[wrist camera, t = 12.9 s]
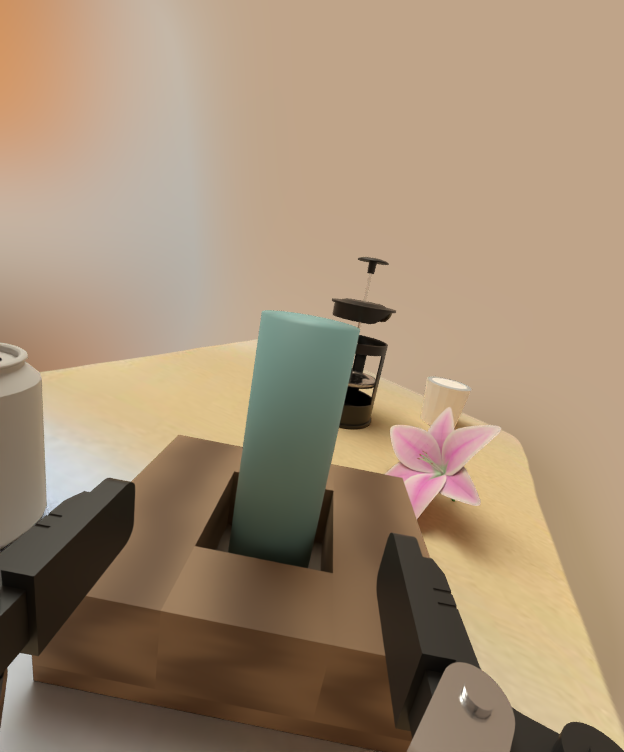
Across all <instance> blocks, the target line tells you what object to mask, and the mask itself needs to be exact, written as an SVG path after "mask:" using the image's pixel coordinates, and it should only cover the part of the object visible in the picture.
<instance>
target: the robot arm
mask: <svg viewBox="0 0 624 752" xmlns="http://www.w3.org/2000/svg"><path fill="white" fill-rule="evenodd" d="M134 511H135V484H134V483H133V482H129V481H123V480H118V479H113V478H107V479H105V480H104V481H102V482H101V483H100V484H99V485H98V486H97V487H95V488H94V489H93V490H92V491H91V492H86V491H84V492H82V493H79V494H77V495H75V496H73V497H71V498H69V499H67V500H65V501H63V502H62V503H61V504H60V505H58V506H57V507H56V508H55V509H54V510H52V511H51V512H50V513H49V515H48V516H45V517H44V518H43V519H41V520H40V521H39V522H38V523H36V526H35V527H34V526H33V527H32V528H30V529H29V530H28V531H27V532H25V533H24V534H23V535H22V536H21V537H19V538H18V539H17V540H16V541H14V542H13V543H12V544H11V545H10V546H8V547H7V548H6V549H5V550H3V551H2V552H1V553H0V727H1V720H2V712H3V705H4V697H5V690H6V682H7V672H8V671H7V667H8V666H9V665H10V664H11V663H12V661H13V660H14V659H15V658H16V657H17V655H18V654H19V653H24V654H29V655H34V656H39V655H40V654H41V652H42V651H43V650H44V649H45V647H46V646H47V645H48V644H49V642H50V641H51V640H52V638H53V637H54V636H55V635H56V633H57V632H58V631H59V630H60V628H61V627H62V626H63V624H64V623H65V622H66V621H67V619H68V618H69V617H70V616H71V614H72V613H73V612H74V610H75V609H76V608H77V607H78V605H79V604H80V603H81V602H82V600H83V599H84V598H85V596H86V595H87V594H88V593H89V591H90V590H91V589H92V587H93V586H94V585H95V584H96V582H97V581H98V580H99V579H100V577H101V576H102V575H103V573H104V572H105V571H106V570H107V568H108V567H109V566H110V565H111V563H112V562H113V561H114V559H115V558H116V557H117V556H118V554H119V553H120V552H121V551H122V549H123V548H124V547H125V545H126V544H127V542H128V540H129V538H130V536H131V534H132V531H133V526H134ZM376 591H377V600H378V608H379V615H380V622H381V629H382V636H383V644H384V651H385V658H386V665H387V672H388V679H389V687H390V694H391V701H392V708H393V715H394V723H395V728H396V729H401V730H406V731H411V736H412V741H411V744H410V746H409V748H408V750H407V752H624V751H623V750H622V749H621V748H620V747H619V746H618V745H617V744H616V743H615V742H614V741H613V740H611V739H610V738H609V737H608V736H606V735H605V734H604V733H602V732H600V731H599V730H597V729H596V728H594V727H592V726H590V725H587V724H584V723H580V722H571V723H568V724H567V725H566V726H564V728H563V730H562V732H561V733H560V734H558V733H557V732H555V731H553V730H551V729H549V728H547V727H545V726H543V725H542V724H540V723H538V722H536V721H534V720H532V719H530V718H529V717H527V716H525V715H523V714H521V713H520V712H518V711H516V710H515V709H514V708H512V707H511V705H510V702H509V701H508V699H507V697H506V695H505V694H504V692H503V691H502V689H501V688H500V687H499V686H498V684H497V683H496V682H495V681H494V680H493V679H492V678H491V677H490V676H489V675H487V674H486V673H485V672H483V671H482V670H481V668H480V666H479V664H478V661H477V658H476V656H475V653H474V650H473V648H472V645H471V643H470V640H469V637H468V635H467V632H466V629H465V627H464V624H463V621H462V619H461V616H460V614H459V611H458V609H456V603H455V600H454V598H453V595H451V590H450V587H449V585H448V582H447V579H446V577H445V574H444V573H443V572H442V570H441V569H440V568H439V567H438V565H437V564H436V563H435V562H434V560H433V559H431V558H426V557H423V556H422V553H421V550H420V547H419V544H418V541H417V539H416V537H413V536H407V535H402V534H397V533H392V532H391V533H390V534H389V536H388V539H387V542H386V546H385V549H384V553H383V556H382V560H381V563H380V567H379V570H378V575H377V585H376Z"/></svg>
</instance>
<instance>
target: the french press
mask: <svg viewBox="0 0 624 752" xmlns="http://www.w3.org/2000/svg"><path fill="white" fill-rule="evenodd" d="M358 260H360V261H364V262H369V267H368V272H367V273H369V278H368V282H367V287H366V291H365V296H364V301H361V300H355V299H332V301H333V302H335V304H334V310H333V315H334V316H337V317H340V318H343V319H348V320H351V321H356V322H359V324H358V328H359V329H360V326H361V323H366V324H375V323H377V322H386V321H387V320H388V319H389V318H390V317H391V315H392V313H396V311H395V310H393V309H389V308H386V307H385V306H383V305H380V304H375V303H371V302H366V298H367V294H368V290H369V285H370V280H371V276H372V274H374V272H375V268H376V264H381V265H389V264H388V263H387V262H385V261H383V260H380V259H376V258H368V257H361V258H358ZM357 343H358V344H357V346H356V351H355V354H356V355H355V359H354V364H353V368H352V369H351V374H350V378H349V383H348V388H347V392H346V397H345V401H344V406H343V410H342V415H341V420H340V424H339V427H340V428H346V429H361V428H365V427H367V426H369V425H370V423H371V413H372V408H373V404H374V400H375V396H376V392H377V388H378V384H379V380H380V375H381V371H382V367H383V363H384V359H385V355H386V351H387V346H388V345H387V344H386V343H384V342H382V341H380V340H377V339H374V338H370V337H366V336H362V335H359V337H358V342H357ZM367 355H368V356H381V360H380V364H379V368H378V372H377V376H376V379H375V378H373V377H372V376H370V375H367V374H365V373H363V369H364V365H365V360H366V356H367ZM373 387H374V389H373V393H372V397H370V396H369V395H367V394H366V393H364V392H361V391H359V389H369V388H373Z"/></svg>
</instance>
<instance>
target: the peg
mask: <svg viewBox="0 0 624 752" xmlns="http://www.w3.org/2000/svg"><path fill="white" fill-rule="evenodd" d="M359 332H360V329H359V328H357V327H355V326H352V325H349V324H346V323H343V322H338V321H335V320H331V319H326V318H321V317H316V316H311V315H305V314H299V313H293V312H284V311H271V310H267V311H262V315H261V322H260V329H259V336H258V343H257V350H256V357H255V364H254V372H253V379H252V386H251V393H250V400H249V407H248V414H247V421H246V428H245V435H244V443H243V450H242V457H241V464H240V471H239V478H238V485H237V492H236V499H235V506H234V514H233V521H232V528H231V535H230V542H229V549H228V553H232V554H237V555H242V556H247V557H253V558H258V559H263V560H268V561H273V562H278V563H283V564H288V565H293V566H298V567H303V568H308V566H309V562H310V557H311V552H312V548H313V543H314V539H315V534H316V530H317V525H318V520H319V516H320V511H321V507H322V502H323V497H324V493H325V488H326V484H327V479H328V475H329V470H330V465H331V461H332V456H333V452H334V447H335V442H336V438H337V433H338V429H339V424H340V420H341V415H342V410H343V406H344V401H345V397H346V392H347V388H348V383H349V378H350V374H351V369H352V365H353V360H354V355H355V351H356V346H357V342H358V337H359Z"/></svg>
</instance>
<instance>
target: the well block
mask: <svg viewBox="0 0 624 752" xmlns="http://www.w3.org/2000/svg"><path fill="white" fill-rule="evenodd" d="M242 450H243V447H240V446H234V445H229V444H224V443H219V442H214V441H208V440H203V439H198V438H193V437H188V436H182V435H178V436H177V437H176V438H175V439H174V440H173V441H172V442H171V443H170V444H169V445H168V446H167V447H166V448H165V449H164V450H163V451H162V452H161V453H160V454H159V455H158V456H157V457H156V458H155V459H154V460H153V461H152V462H151V463H150V464H149V465H148V466H147V467H146V468H145V469H144V470H143V471H142V472H141V473H140V474H138V475H137V476H136V477H135V478H134V479H133V480H132V481H131V482H133V483H134V484H135V511H134V526H133V531H132V534H131V536H130V538H129V540H128V542H127V544H126V545H125V547H124V548H123V549H122V551H121V552H120V553H119V554H118V556H117V557H116V558H115V559H114V561H113V562H112V563H111V565H110V566H109V567H108V568H107V570H106V571H105V572H104V573H103V575H102V576H101V577H100V579H99V580H98V581H97V582H96V584H95V585H94V586H93V587H92V589H91V590H90V591H89V593H88V594H87V595H86V596H85V598H84V599H83V600H82V602H81V603H80V604H79V605H78V607H77V608H76V609H75V610H74V612H73V613H72V614H71V616H70V617H69V618H68V619H67V621H66V622H65V623H64V624H63V626H62V627H61V628H60V630H59V631H58V632H57V633H56V635H55V636H54V637H53V638H52V640H51V641H50V642H49V644H48V645H47V646H46V647H45V649H44V650H43V651H42V652H41V654H40V655H39V656H34V655H32V665H33V680H34V681H39V682H44V683H49V684H54V685H58V686H63V687H68V688H73V689H78V690H83V691H88V692H93V693H98V694H103V695H107V696H112V697H117V698H122V699H127V700H132V701H137V702H142V703H147V704H152V705H156V706H161V707H166V708H171V709H176V710H181V711H186V712H191V713H196V714H200V715H205V716H210V717H215V718H220V719H225V720H230V721H235V722H240V723H245V724H249V725H254V726H259V727H264V728H269V729H274V730H279V731H284V732H289V733H294V734H298V735H303V736H308V737H313V738H318V739H323V740H328V741H333V742H338V743H343V744H347V745H352V746H357V747H362V748H367V749H372V750H377V751H382V752H407V750H408V748H409V746H410V744H411V741H412V736H411V731H406V730H401V729H396V728H395V723H394V715H393V708H392V701H391V694H390V687H389V679H388V672H387V665H386V658H385V651H384V644H383V636H382V629H381V622H380V615H379V608H378V600H377V591H376V585H377V575H378V570H379V567H380V563H381V560H382V556H383V553H384V549H385V546H386V542H387V539H388V536H389V534H390V533H391V532H392V533H397V534H402V535H407V536H413V537H416V539H417V541H418V544H419V547H420V550H421V553H422V556H423V557H426V558H430V557H429V554H428V551H427V548H426V545H425V542H424V539H423V536H422V533H421V530H420V527H419V525H418V522H417V519H416V516H415V513H414V510H413V507H412V504H411V501H410V498H409V495H408V492H407V490H406V487H405V484H404V481H403V478H400V477H395V476H390V475H385V474H380V473H374V472H369V471H364V470H359V469H354V468H348V467H343V466H338V465H333V464H331V465H330V470H329V475H328V479H327V484H326V488H325V493H324V497H323V502H322V507H321V511H320V516H319V520H318V525H317V530H316V534H315V539H314V543H313V548H312V552H311V557H310V562H309V566H308V568H303V567H298V566H293V565H288V564H283V563H278V562H273V561H268V560H263V559H258V558H253V557H247V556H242V555H237V554H232V553H228V549H229V542H230V535H231V528H232V521H233V514H234V506H235V499H236V492H237V485H238V478H239V471H240V464H241V457H242Z"/></svg>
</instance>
